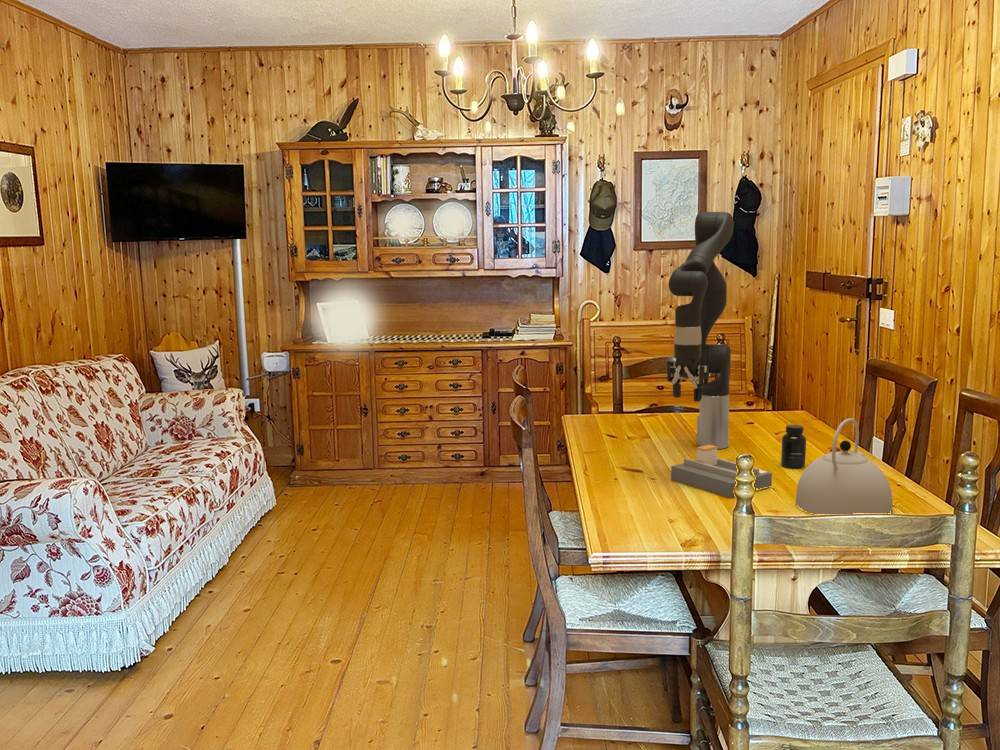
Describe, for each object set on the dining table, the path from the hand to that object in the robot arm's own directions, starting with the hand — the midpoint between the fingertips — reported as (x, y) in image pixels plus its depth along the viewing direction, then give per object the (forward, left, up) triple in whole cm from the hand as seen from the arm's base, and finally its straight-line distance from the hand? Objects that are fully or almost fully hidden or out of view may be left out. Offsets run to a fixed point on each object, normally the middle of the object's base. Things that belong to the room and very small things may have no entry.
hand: (687, 399), depth 247 cm
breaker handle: (+8, 0, -18) cm, 19 cm away
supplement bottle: (+14, +30, -22) cm, 40 cm away
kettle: (+45, +10, -22) cm, 51 cm away
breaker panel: (+13, 0, -22) cm, 25 cm away
